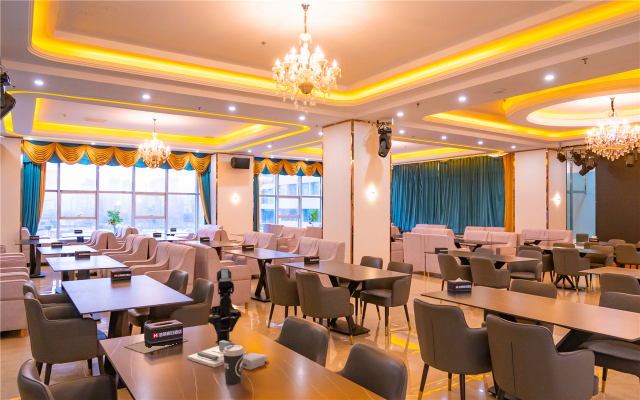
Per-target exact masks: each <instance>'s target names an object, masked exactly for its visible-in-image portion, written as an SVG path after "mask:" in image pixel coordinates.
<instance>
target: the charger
mask: <svg viewBox="0 0 640 400" xmlns="http://www.w3.org/2000/svg"><path fill="white" fill-rule="evenodd" d="M268 358H269V356H268V355H267V354H263V353H261V354H259V353H256V352H250V353H248V354H247V355H244V356H243V361H242V369H246V370H249V371H252V370H254V369H256V368H259V367H262V366H265V364H266V363H265V362H266V360H268Z"/></svg>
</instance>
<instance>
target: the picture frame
mask: <svg viewBox="0 0 640 400" xmlns="http://www.w3.org/2000/svg"><path fill="white" fill-rule="evenodd" d="M144 341H145V340H143V341H138V342H135V343H131V344H128V345H124V346H123V347H124V349H125V348H126V349H129V350H131V351H134V352H137V353H140V354H142V355H146V354H150V353H153V352H156V351H159V350H163V349H166V348H170V347H173V346H175V345H174V344H172V345H173V346H172V345H165V346H152V347H151V348H148V347H146V346H145V343H144ZM186 342H189V339H186V338H183V343H186ZM176 344H177V343H176ZM177 345H178V344H177ZM169 346H170V347H169Z"/></svg>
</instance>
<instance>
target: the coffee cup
mask: <svg viewBox="0 0 640 400" xmlns="http://www.w3.org/2000/svg"><path fill="white" fill-rule="evenodd" d="M244 351H245V349H244V348H243V346H241V345H240V344H239V345H238V344H231V345H230V346H227V347H225V348H224V350H223V353H222V354H223V355H224V364H223V365H224V377H225V384H226V385H229V386H234V385H238V384H240V383H241V381H242V380H241V379H242V371H243V367H242V361H243V354H244Z"/></svg>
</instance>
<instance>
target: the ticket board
mask: <svg viewBox="0 0 640 400" xmlns="http://www.w3.org/2000/svg"><path fill="white" fill-rule="evenodd" d="M216 349H219V345H216V346H214V347H210V348H207V349H204V350H201V351H198V352H196V353H192V354H189V355H187V360H188V361H193V362H196V363H199V364H201V365H205V366H208V367H211V368H217V367H219V366H222V365H224V355H223V354H222V353H218V352H214V351H213V350H216ZM244 355H247V351H245V350H244V354H243V356H244Z"/></svg>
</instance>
